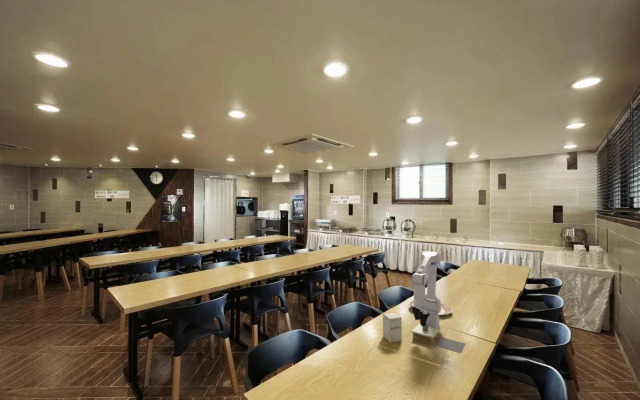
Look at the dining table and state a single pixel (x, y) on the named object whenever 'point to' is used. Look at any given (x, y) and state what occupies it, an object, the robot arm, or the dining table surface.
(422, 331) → the lid
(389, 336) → the supplement box
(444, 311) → the dinner plate
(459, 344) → the mat
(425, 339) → the box
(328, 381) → the dining table surface
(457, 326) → the dining table surface
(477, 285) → the dining table surface
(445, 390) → the dining table surface
